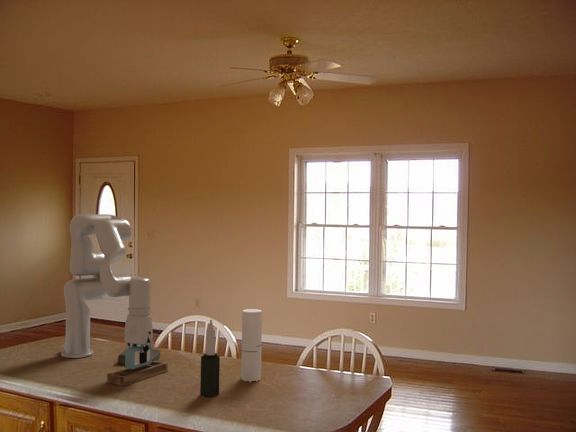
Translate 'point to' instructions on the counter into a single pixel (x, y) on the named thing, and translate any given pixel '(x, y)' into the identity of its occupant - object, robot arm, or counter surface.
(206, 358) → the marker pen
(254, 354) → the cylindrical container
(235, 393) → the counter surface
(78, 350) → the robot arm
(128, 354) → the teal block
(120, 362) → the marble piece
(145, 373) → the wooden compartment tray
